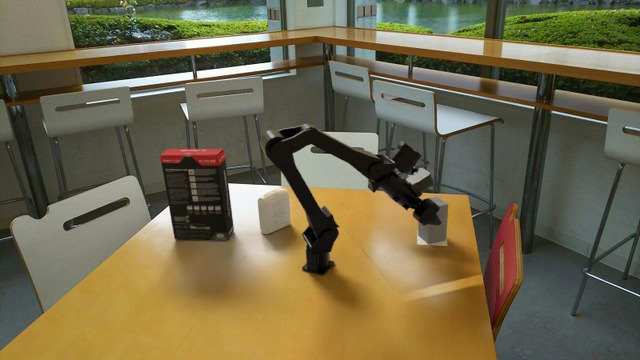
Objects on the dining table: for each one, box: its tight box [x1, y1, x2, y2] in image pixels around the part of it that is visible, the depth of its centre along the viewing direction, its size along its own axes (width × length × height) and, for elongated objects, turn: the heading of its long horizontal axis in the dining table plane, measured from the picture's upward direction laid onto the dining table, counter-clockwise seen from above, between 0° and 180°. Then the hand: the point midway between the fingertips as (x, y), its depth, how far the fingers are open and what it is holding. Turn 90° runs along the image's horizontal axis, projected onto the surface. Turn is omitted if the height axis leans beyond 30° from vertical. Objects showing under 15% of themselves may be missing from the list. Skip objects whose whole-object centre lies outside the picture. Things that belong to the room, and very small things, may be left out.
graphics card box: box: [159, 148, 235, 242], centre depth 138 cm, size 17×7×27 cm, turn 84°
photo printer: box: [257, 188, 292, 235], centre depth 144 cm, size 10×4×12 cm, turn 134°
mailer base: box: [416, 229, 448, 247], centre depth 133 cm, size 8×8×5 cm
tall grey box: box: [417, 196, 449, 244], centre depth 131 cm, size 6×6×11 cm
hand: (431, 216), depth 131 cm, fingers open, 9 cm apart
